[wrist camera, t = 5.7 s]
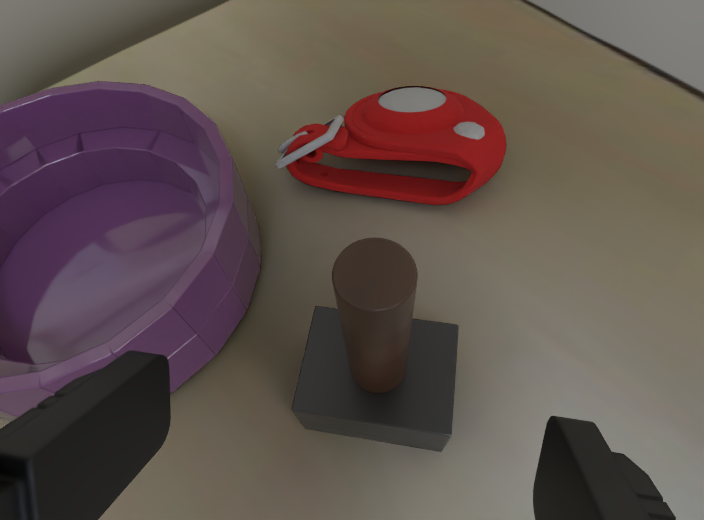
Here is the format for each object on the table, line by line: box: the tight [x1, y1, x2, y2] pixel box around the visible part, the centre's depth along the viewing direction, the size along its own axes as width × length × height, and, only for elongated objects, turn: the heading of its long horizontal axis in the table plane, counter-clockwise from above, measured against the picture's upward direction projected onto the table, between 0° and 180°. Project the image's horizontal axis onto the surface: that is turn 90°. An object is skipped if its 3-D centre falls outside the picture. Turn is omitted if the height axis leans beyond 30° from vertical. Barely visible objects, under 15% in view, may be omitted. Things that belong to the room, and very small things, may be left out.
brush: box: [292, 238, 458, 452], centre depth 17 cm, size 6×4×11 cm
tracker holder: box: [275, 86, 506, 205], centre depth 27 cm, size 12×4×10 cm
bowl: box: [0, 81, 261, 422], centre depth 23 cm, size 16×16×6 cm
